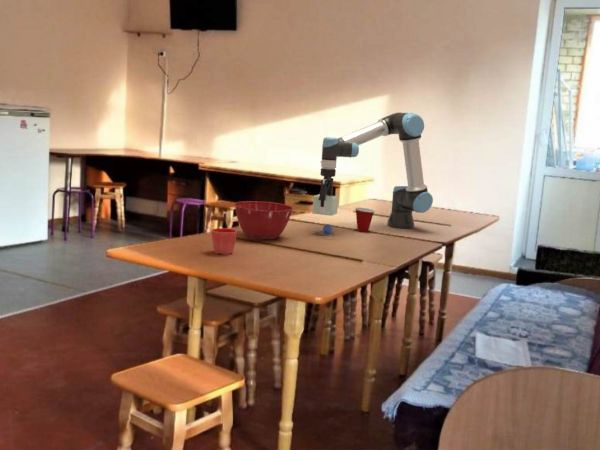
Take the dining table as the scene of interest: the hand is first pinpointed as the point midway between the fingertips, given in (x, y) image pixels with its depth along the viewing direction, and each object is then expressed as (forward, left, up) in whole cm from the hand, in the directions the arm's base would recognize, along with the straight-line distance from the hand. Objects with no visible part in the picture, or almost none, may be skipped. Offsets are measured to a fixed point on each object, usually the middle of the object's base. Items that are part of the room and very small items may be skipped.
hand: (325, 211), depth 349 cm
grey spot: (0, 0, -11) cm, 11 cm away
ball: (-2, 0, -9) cm, 9 cm away
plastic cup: (-16, -21, -11) cm, 29 cm away
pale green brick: (0, 0, -1) cm, 1 cm away
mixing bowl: (+23, +28, -11) cm, 38 cm away
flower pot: (+24, +71, -11) cm, 76 cm away
